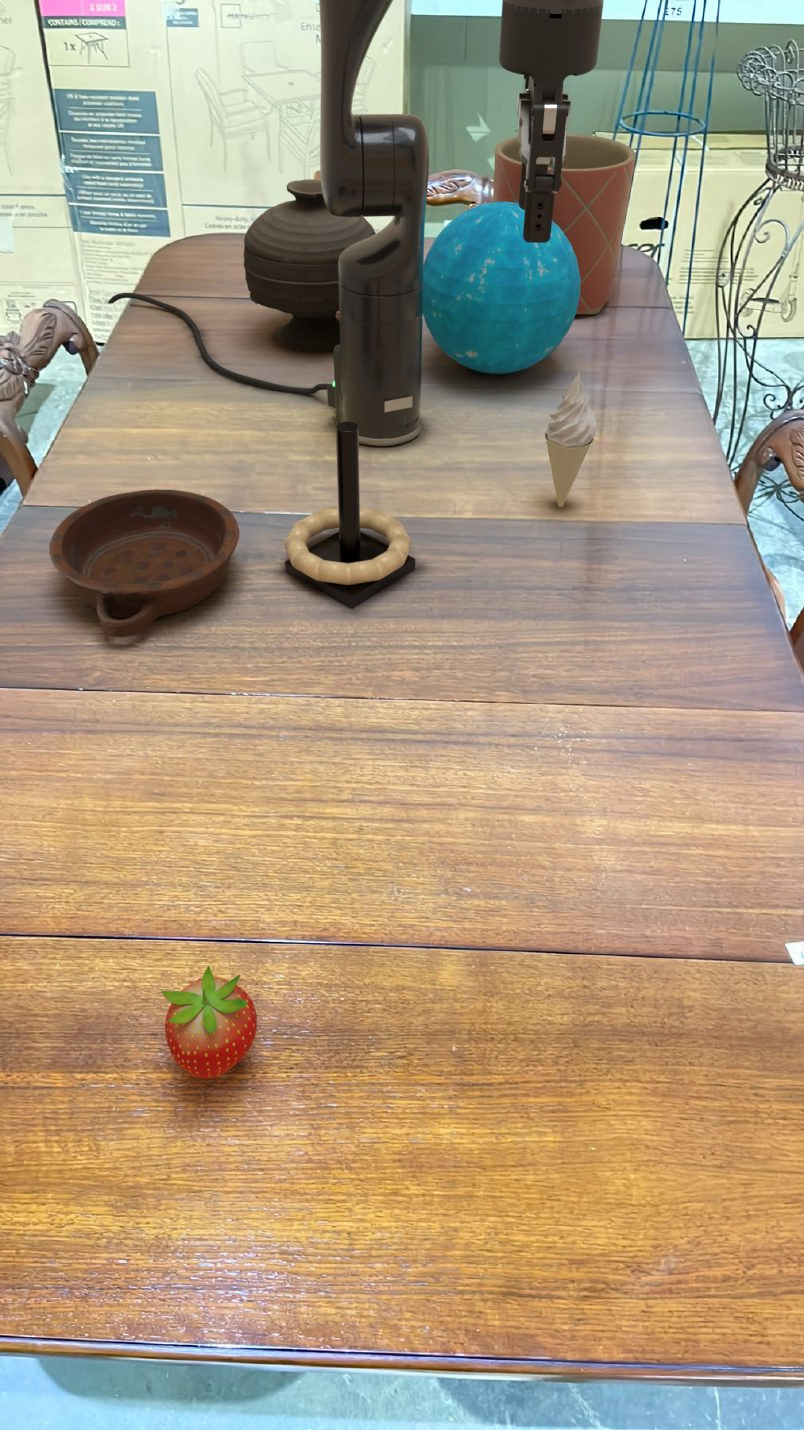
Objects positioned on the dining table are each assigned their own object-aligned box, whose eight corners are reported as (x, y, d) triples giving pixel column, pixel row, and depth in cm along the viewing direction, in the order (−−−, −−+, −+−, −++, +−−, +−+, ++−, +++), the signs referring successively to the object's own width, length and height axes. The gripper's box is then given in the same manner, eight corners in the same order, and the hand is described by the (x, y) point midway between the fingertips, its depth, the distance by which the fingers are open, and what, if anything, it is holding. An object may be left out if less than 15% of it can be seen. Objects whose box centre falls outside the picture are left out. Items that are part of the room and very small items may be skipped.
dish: (254, 519, 112) (250, 476, 109) (229, 650, 96) (223, 604, 92) (86, 518, 112) (77, 474, 109) (32, 648, 96) (19, 602, 92)
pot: (410, 323, 150) (401, 170, 136) (337, 380, 140) (319, 221, 126) (306, 299, 158) (288, 152, 143) (230, 351, 147) (202, 199, 133)
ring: (261, 554, 105) (259, 536, 104) (348, 508, 112) (347, 490, 111) (348, 603, 99) (348, 585, 98) (434, 551, 106) (435, 534, 105)
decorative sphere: (593, 392, 136) (616, 226, 123) (441, 408, 132) (447, 238, 119) (540, 331, 150) (555, 176, 137) (401, 343, 147) (403, 185, 133)
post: (285, 571, 105) (274, 427, 95) (349, 535, 110) (345, 394, 100) (352, 608, 101) (348, 461, 91) (415, 568, 106) (418, 425, 96)
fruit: (197, 1017, 68) (181, 939, 62) (274, 1038, 67) (264, 961, 61) (158, 1092, 64) (138, 1016, 59) (239, 1117, 63) (226, 1041, 58)
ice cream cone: (582, 521, 113) (602, 384, 103) (534, 515, 114) (548, 379, 104) (586, 497, 116) (605, 362, 107) (539, 491, 117) (553, 358, 107)
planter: (623, 324, 153) (646, 171, 139) (488, 321, 153) (498, 168, 140) (606, 275, 167) (625, 133, 154) (483, 274, 167) (491, 131, 154)
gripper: (500, -20, 86) (487, 198, 96) (505, 11, 75) (490, 252, 86) (594, -18, 86) (571, 200, 96) (614, 13, 75) (585, 254, 86)
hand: (533, 224), depth 91 cm, fingers open, 8 cm apart
